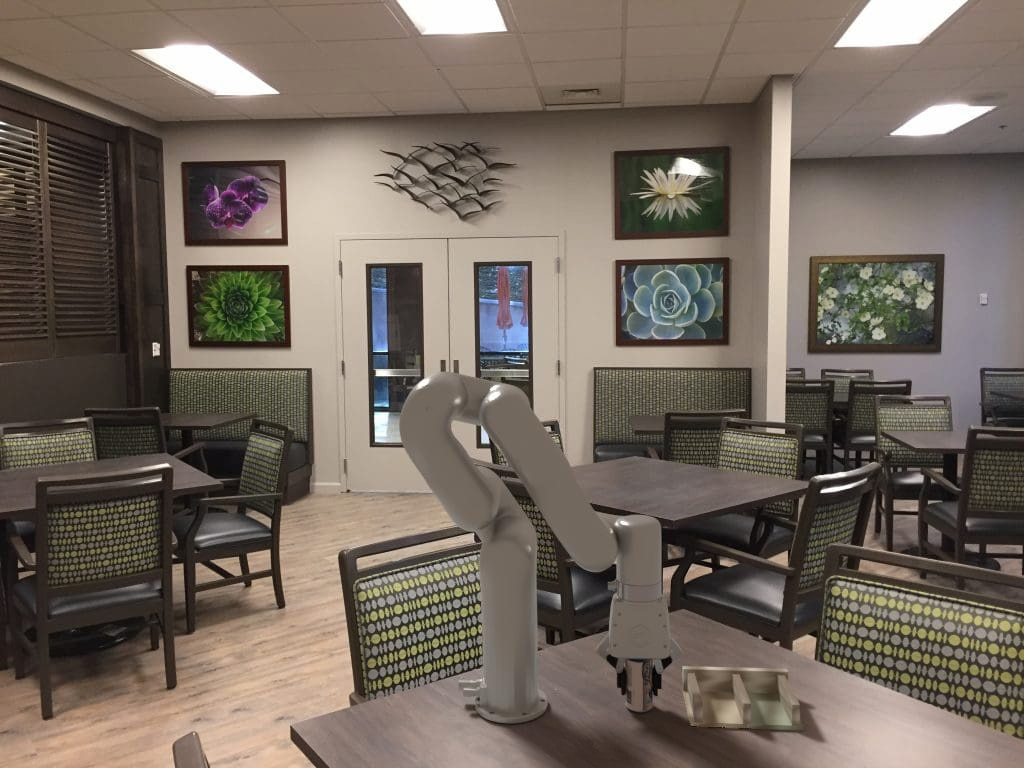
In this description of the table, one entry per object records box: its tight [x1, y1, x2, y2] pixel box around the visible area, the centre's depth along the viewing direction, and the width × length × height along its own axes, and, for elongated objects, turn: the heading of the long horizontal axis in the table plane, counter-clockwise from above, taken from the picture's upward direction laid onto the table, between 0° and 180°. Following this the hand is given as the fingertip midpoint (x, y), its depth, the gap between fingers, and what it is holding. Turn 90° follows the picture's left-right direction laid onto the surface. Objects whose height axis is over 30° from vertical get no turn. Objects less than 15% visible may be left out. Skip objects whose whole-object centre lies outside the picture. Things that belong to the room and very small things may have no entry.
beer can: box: [624, 659, 654, 713], centre depth 138 cm, size 5×5×12 cm
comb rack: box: [681, 665, 805, 732], centre depth 137 cm, size 18×12×5 cm, turn 84°
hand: (639, 691), depth 139 cm, fingers closed on beer can, 4 cm apart
